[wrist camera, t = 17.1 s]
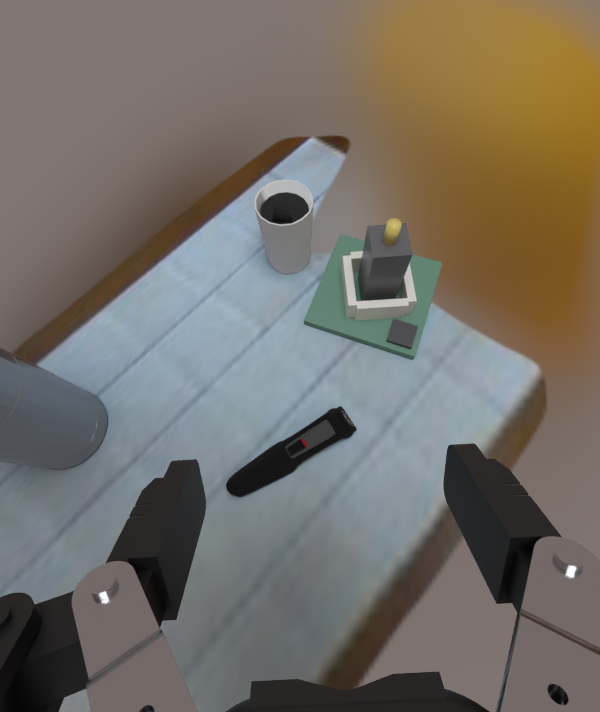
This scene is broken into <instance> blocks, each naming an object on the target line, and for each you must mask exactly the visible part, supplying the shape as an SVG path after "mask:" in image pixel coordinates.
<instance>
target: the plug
mask: <svg viewBox="0 0 600 712" xmlns="http://www.w3.org/2000/svg"><path fill="white" fill-rule="evenodd" d="M412 255H413V254H412V249H411V245H410V240H409V236H408V231H407V227H406V223H401V221H400V220H398V219H395V218H393V219H390V220H389V221H388V222H387V225H377V226H368V227H367V233H366V238H365V243H364V248H363V254H362V259H361V264H360V269H359V274H358V285H359V292H360V298H361V301H370V300H385V299H396V296H397V293H398V291H399V288H400V286H401V283H402V281H403V278H404V276H405V273H406V271H407V268H408V265H409V263H410V260H411V258H412Z"/></svg>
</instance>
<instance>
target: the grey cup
mask: <svg viewBox="0 0 600 712" xmlns="http://www.w3.org/2000/svg"><path fill="white" fill-rule="evenodd" d="M255 211H256V215H257V218H258V222H259V226H260V230H261V234H262V238H263V241H264V245H265V249H266V253H267V257H268V261H269V263H270V265H271V266H272V268H273V269H275V270H276V271H278V272H280V273H284V274H294V273H297V272H299V271H301V270H303V269H304V268H305V267H306V266H307V265H308V262H309V259H310V251H311V234H312V217H313V198H312V194H311V193H310V191H309V190H308V188H307V187H306V186H304V185H302V184H301V183H299V182H297V181H292V180H278V181H274V182H272V183H269V184H267V185H265V186H264V187H263V188H262V189H261V190H260V191H259V192H258V194H257V196H256V198H255Z"/></svg>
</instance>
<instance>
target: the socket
mask: <svg viewBox="0 0 600 712" xmlns="http://www.w3.org/2000/svg"><path fill="white" fill-rule="evenodd" d="M362 254H363V251H357V252H350V255H348V256H343V257H342V266H341V274H342V283H343V292H344V301H345V310H346V317H354V318H355V321H356V320H372V319H388V318H403V317H404V315H405V314H409V313H411V312H412V310H413V308H414V306H415V304H416V302H417V299H416V294H415V289H414V283H413V278H412V273H411V268H410V263H409V265H408V268H407V271H406V273H405V276H404V278H403V281H402V283H401V286H400V288H399V295H400V299H385V300H370V301H356V294H355V286H354V278H353V272H359V269H360V264H361V259H362Z"/></svg>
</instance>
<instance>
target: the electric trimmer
mask: <svg viewBox="0 0 600 712" xmlns="http://www.w3.org/2000/svg"><path fill="white" fill-rule="evenodd" d="M356 430H357V429H356V427H355V426H354V424H353V423H352V421H351V420H350V418H349V417H348V415H347V414H346V412H345V411H344V409H343V408H342V407H341V406H340V407H338V408H337V409H336V408H334V409H331V410H329V411H328V412H327V413H326V414H324V415H323V416H321V417H320V418H318V419H317V420H316V421H314V422H313V423H311V424H310V425H308V426H306V427H305V428H303V429H302V430H300V431H299V432H297V433H296V434H294V435H293V436H291V437H289V438H287V439H286V440H284V441H281V442H279V443H277V444H275V445H274V446H272V447H271V448H269V449H268V450H266V451H265V452H264V453H262V454H261V455H260V456H258V457H257V458H255V459H254V460H253V461H251V462H250V463H248V464H247V465H246V466H244V467H243V468H242V469H240V470H239V471H238V472H236V473H235V474H234V475H233V476H231V477H230V479H229V480H228V482H227V484H226V487H227V490H228V492H229V493H230V494H232V495H235V496H239V497H241V496H244V495H247V494H249V493H251V492H253V491H255V490H257V489H259V488H261V487H263V486H265V485H268V484H270V483H272V482H274V481H276V480H278V479H280V478H282V477H284V476H286V475H288V474H290V473H291V472H293V471H294V470H295V469H296V468H297V466H298V465H300V464H301V463H302V462H303V461H304V460H306V459H308V458H309V457H311V456H313V455H314V454H316V453H318V452H319V451H321V450H322V449H324V448H326V447H327V446H329V445H331V444H333V443H335V442H336V441H338V440H340V439H343V438H348V437H350V436H352V434H353V432H354V431H356Z"/></svg>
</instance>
